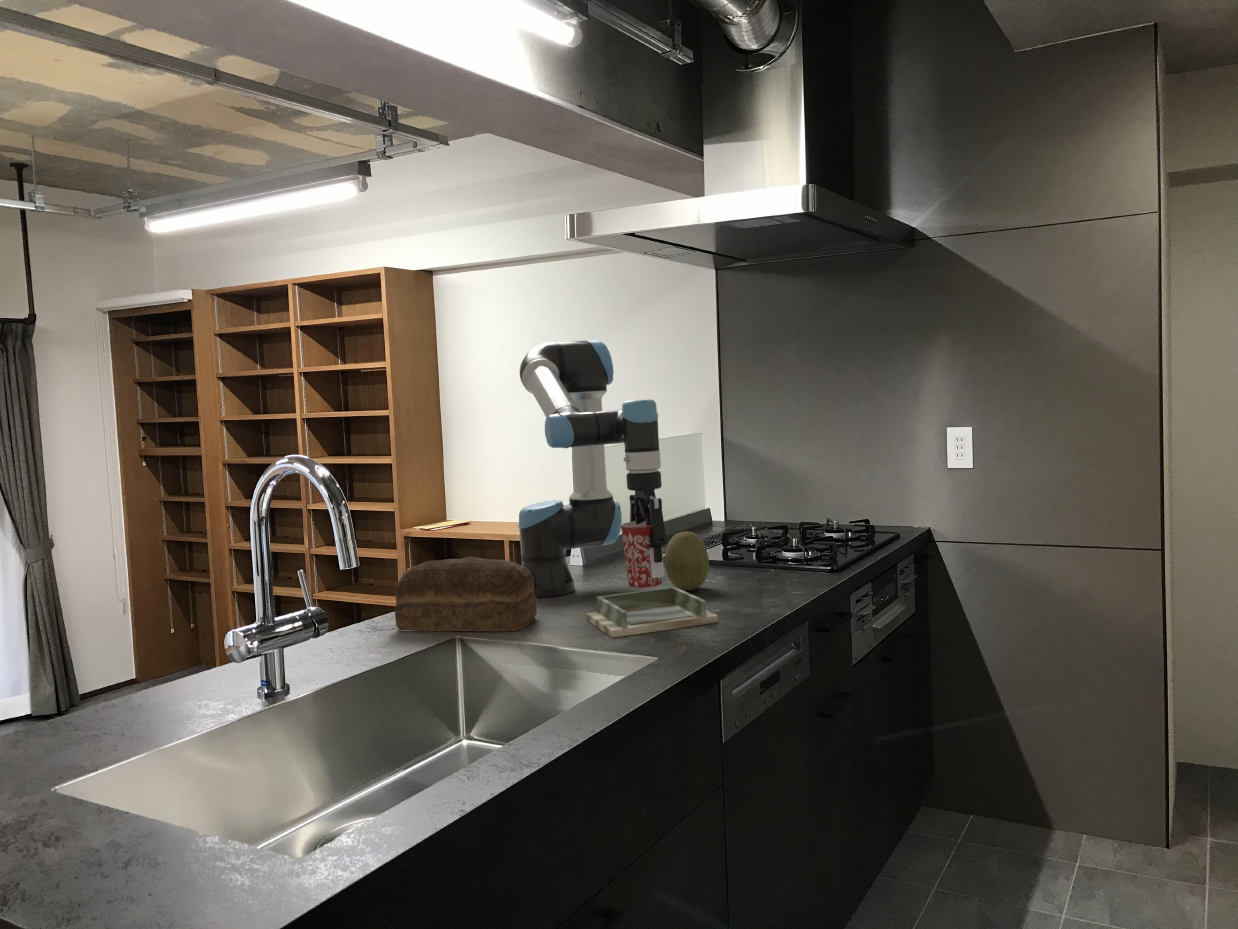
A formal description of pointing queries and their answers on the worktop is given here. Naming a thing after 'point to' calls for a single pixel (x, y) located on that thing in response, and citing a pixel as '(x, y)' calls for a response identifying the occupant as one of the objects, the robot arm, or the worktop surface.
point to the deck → (649, 612)
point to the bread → (465, 596)
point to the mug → (638, 555)
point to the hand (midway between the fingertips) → (649, 573)
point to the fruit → (686, 561)
